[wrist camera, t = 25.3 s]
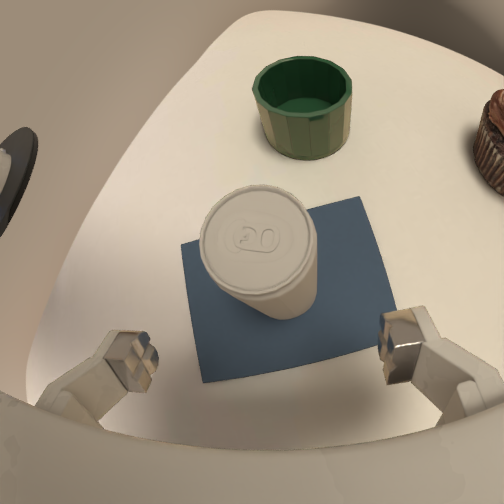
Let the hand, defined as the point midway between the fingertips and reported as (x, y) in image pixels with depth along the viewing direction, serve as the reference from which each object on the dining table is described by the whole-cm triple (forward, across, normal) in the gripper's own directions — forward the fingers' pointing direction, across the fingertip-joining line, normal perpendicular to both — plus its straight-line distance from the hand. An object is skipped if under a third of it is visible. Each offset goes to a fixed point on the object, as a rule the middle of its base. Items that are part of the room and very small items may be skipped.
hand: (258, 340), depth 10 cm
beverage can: (+12, 0, +6) cm, 14 cm away
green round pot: (+23, -4, -5) cm, 24 cm away
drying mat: (+12, 0, +6) cm, 14 cm away
